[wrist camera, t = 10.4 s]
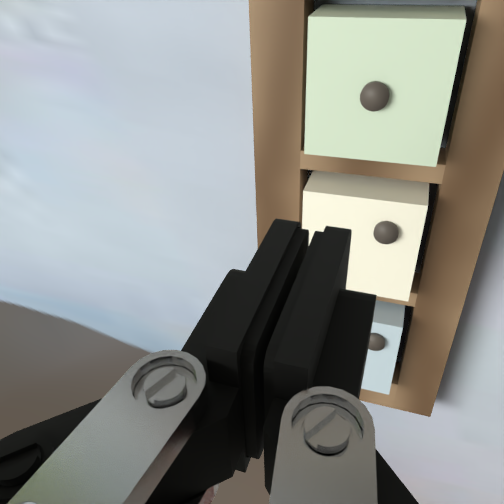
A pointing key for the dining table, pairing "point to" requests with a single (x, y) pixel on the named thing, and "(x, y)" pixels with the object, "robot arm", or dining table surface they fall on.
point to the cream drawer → (371, 226)
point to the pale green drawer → (380, 80)
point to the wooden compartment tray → (444, 174)
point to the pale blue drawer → (383, 346)
